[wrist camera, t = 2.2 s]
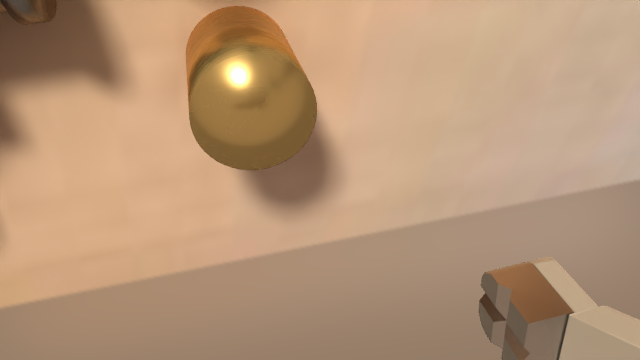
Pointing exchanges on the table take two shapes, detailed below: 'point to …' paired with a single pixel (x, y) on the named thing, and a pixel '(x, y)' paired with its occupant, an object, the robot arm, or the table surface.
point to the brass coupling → (247, 90)
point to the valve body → (29, 10)
